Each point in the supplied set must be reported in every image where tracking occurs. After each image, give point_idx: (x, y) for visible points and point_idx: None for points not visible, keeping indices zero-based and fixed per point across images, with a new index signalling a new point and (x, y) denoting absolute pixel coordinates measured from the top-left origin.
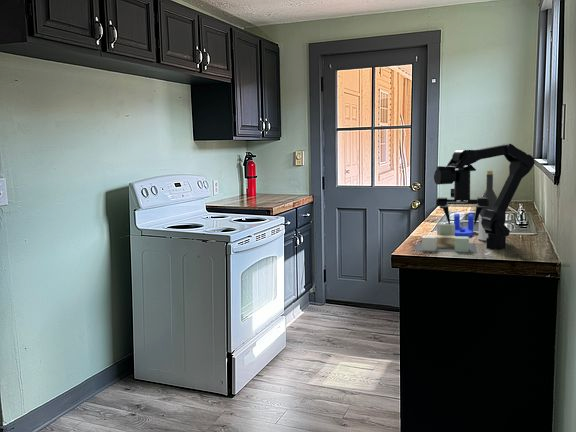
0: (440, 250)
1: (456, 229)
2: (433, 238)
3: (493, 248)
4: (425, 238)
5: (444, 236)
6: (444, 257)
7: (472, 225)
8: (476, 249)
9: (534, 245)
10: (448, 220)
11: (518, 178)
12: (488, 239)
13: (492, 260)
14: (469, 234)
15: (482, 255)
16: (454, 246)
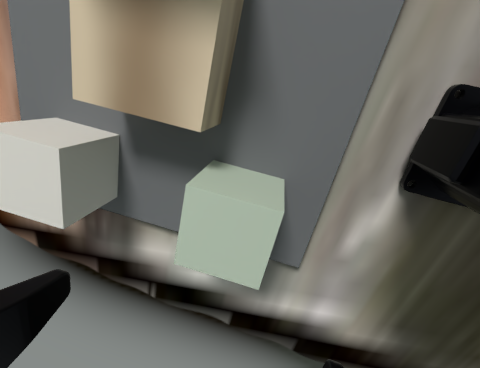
0: (139, 189)
1: None
2: (54, 223)
3: (443, 191)
4: (11, 210)
5: (129, 59)
6: (156, 268)
7: None
8: (329, 188)
9: None
10: (13, 342)
11: None
12: (458, 186)
13: (323, 344)
14: None
15: (324, 260)
16: (216, 123)
